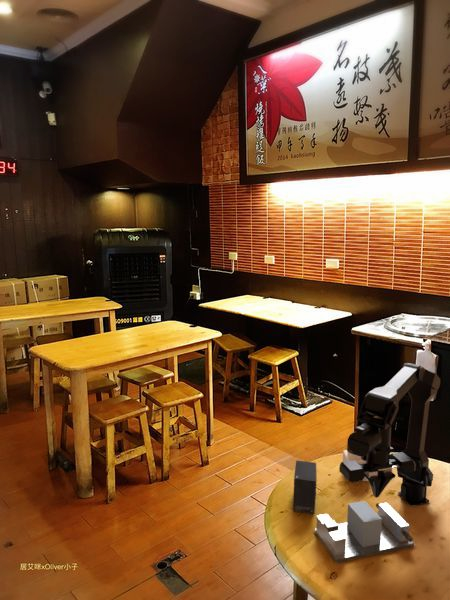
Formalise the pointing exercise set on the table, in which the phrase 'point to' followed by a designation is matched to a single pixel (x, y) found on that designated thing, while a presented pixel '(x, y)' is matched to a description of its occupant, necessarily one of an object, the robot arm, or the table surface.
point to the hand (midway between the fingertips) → (376, 496)
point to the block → (364, 523)
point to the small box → (304, 487)
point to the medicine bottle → (353, 458)
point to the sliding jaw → (394, 522)
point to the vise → (353, 541)
